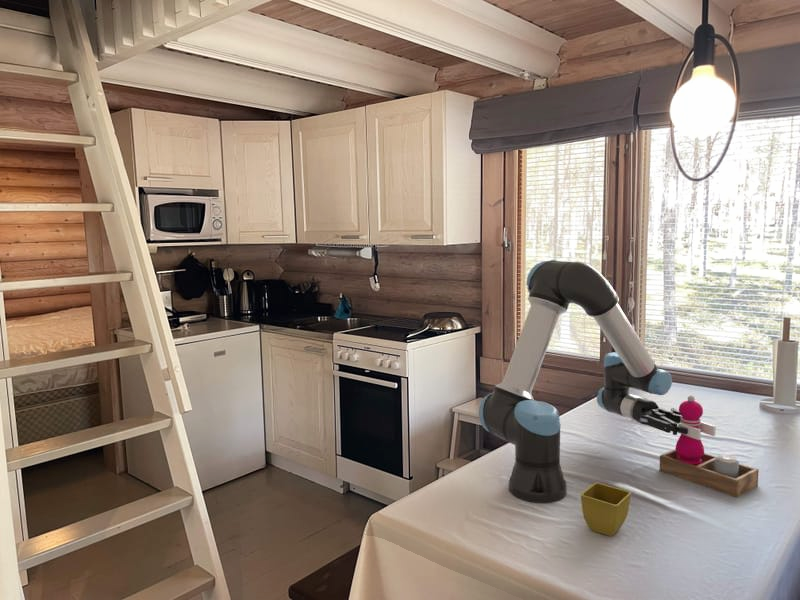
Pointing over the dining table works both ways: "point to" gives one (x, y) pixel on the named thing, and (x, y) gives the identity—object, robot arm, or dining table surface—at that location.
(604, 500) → the flower pot
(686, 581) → the dining table surface
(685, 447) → the pepper mill
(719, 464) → the salt jar
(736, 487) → the caddy
